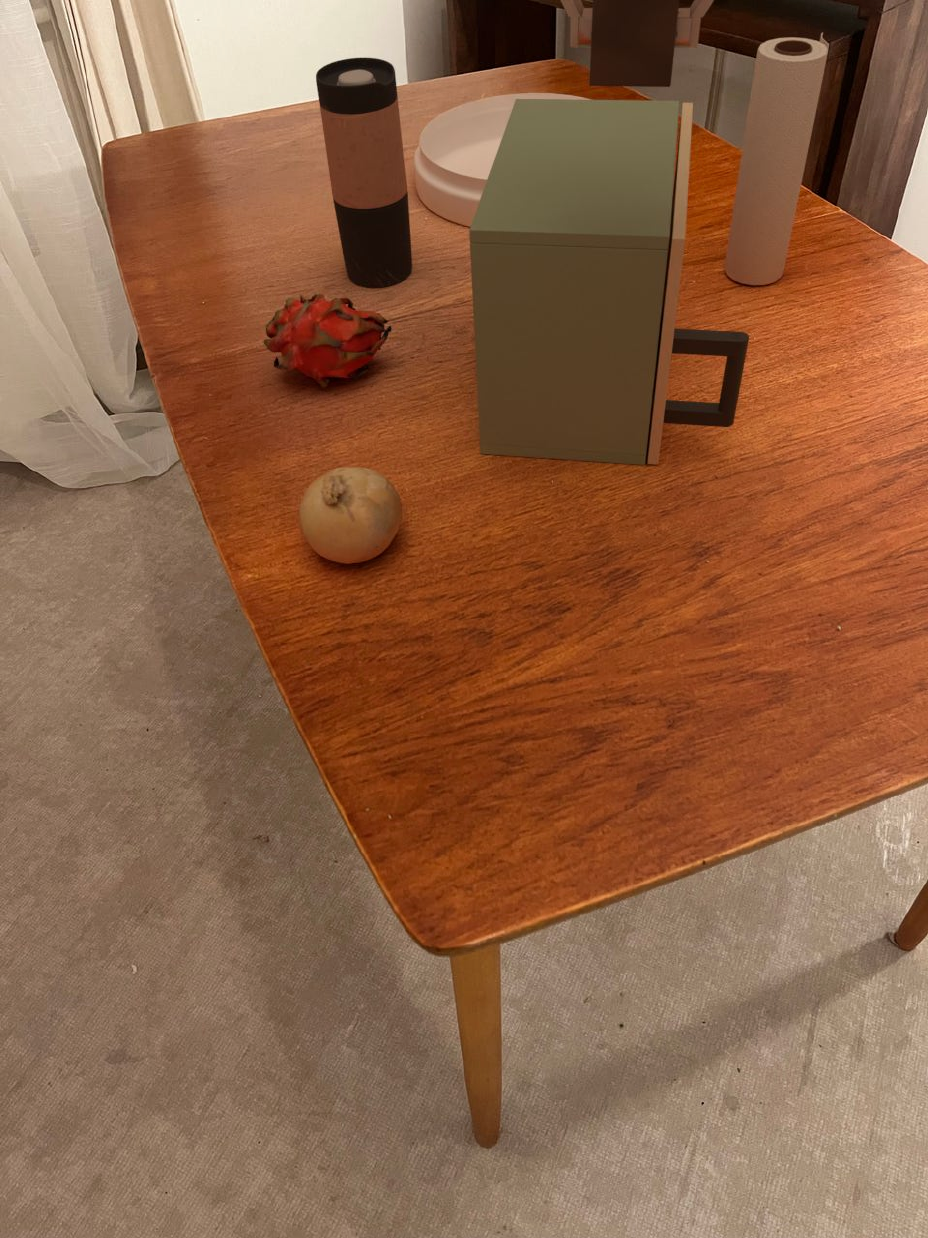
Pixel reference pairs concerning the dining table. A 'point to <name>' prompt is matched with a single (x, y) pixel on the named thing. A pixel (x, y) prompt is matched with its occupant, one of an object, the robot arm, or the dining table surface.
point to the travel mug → (367, 168)
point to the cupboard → (572, 278)
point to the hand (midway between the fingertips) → (634, 44)
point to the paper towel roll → (774, 156)
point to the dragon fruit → (325, 337)
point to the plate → (464, 153)
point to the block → (633, 42)
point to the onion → (350, 514)
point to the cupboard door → (689, 339)
